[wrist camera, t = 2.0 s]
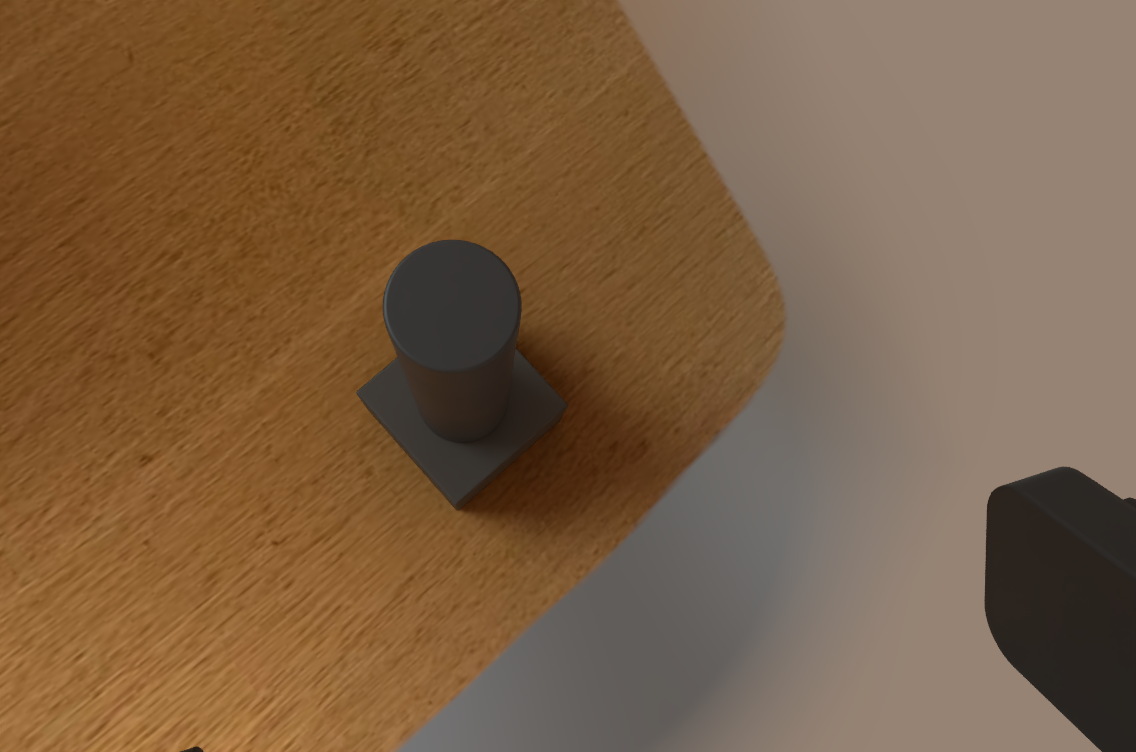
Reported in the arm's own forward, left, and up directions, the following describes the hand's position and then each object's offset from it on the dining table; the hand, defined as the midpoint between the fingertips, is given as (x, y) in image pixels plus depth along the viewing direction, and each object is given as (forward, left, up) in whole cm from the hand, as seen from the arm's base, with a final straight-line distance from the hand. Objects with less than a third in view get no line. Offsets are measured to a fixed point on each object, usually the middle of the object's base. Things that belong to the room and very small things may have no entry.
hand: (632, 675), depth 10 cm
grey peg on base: (-2, -6, -23) cm, 23 cm away
